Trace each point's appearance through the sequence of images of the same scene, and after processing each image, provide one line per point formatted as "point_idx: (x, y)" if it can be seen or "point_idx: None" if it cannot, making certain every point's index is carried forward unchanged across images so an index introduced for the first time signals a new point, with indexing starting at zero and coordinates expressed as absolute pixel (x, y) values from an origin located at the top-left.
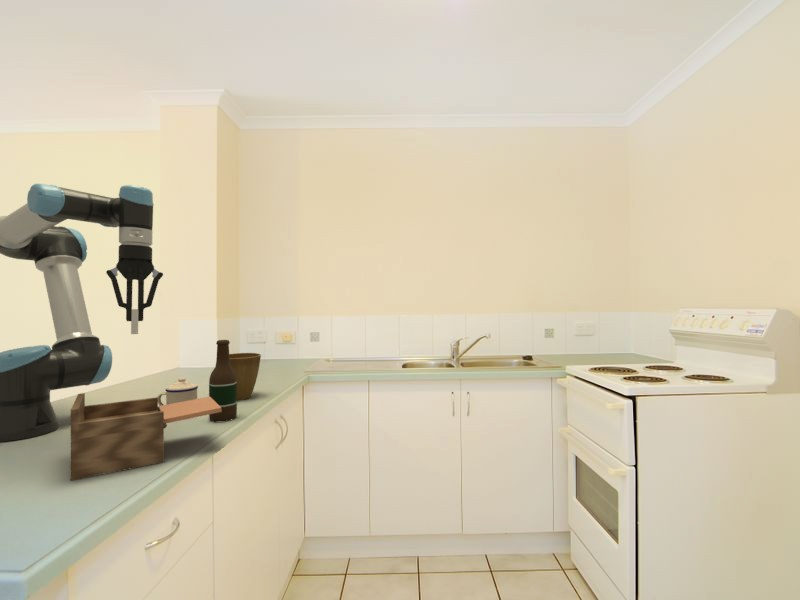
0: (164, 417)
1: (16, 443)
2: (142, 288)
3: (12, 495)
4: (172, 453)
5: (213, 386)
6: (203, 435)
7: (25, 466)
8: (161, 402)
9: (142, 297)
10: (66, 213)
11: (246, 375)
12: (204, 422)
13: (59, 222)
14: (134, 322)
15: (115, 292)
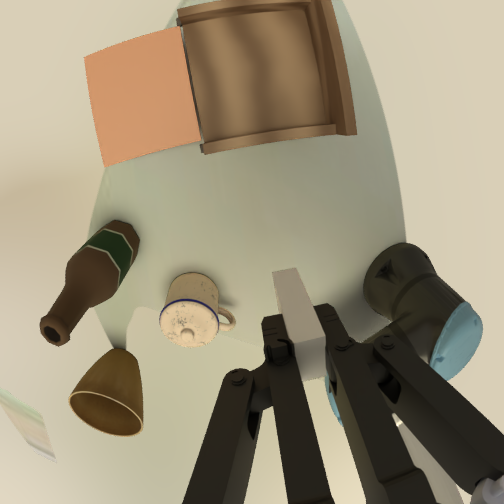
0: (180, 38)
1: (397, 229)
2: (293, 469)
3: (344, 13)
4: None
5: (108, 252)
6: None
7: (367, 109)
8: (228, 319)
9: (281, 409)
10: None
11: (94, 369)
12: (146, 229)
13: None
14: (295, 295)
15: (447, 385)
